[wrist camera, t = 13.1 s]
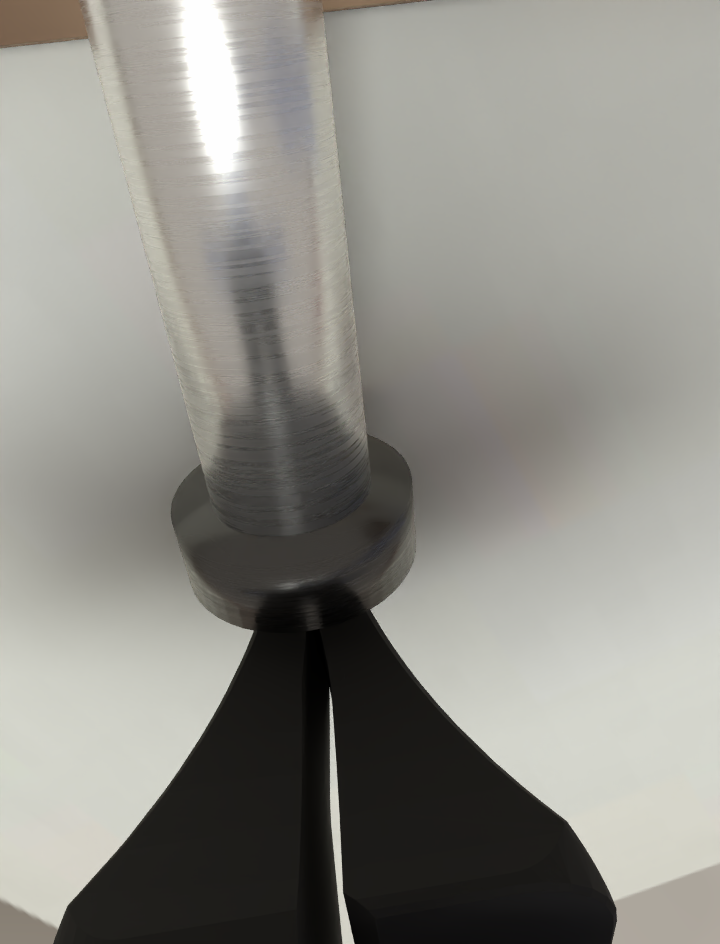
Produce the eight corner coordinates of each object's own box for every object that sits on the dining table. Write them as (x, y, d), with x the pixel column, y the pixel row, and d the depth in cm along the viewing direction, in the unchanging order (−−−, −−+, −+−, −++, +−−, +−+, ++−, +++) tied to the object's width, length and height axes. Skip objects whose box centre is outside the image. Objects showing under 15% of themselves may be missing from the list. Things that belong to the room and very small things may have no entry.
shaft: (287, -927, 5) (311, -2241, 2) (396, 473, 12) (437, 611, 9) (-184, -904, 5) (-844, -2271, 2) (199, 500, 12) (177, 651, 9)
